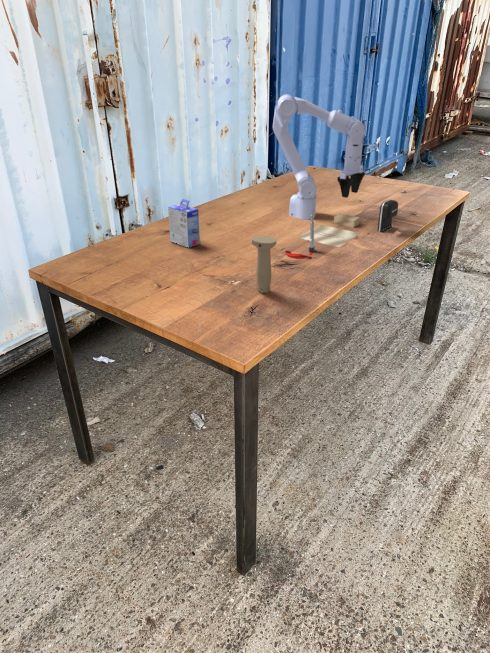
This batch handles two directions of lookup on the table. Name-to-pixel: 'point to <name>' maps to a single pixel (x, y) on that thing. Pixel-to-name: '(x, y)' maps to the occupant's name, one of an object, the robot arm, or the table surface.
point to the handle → (264, 261)
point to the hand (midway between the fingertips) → (349, 194)
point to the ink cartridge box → (184, 224)
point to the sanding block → (346, 220)
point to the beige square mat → (330, 235)
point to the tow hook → (312, 242)
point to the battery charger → (387, 215)
